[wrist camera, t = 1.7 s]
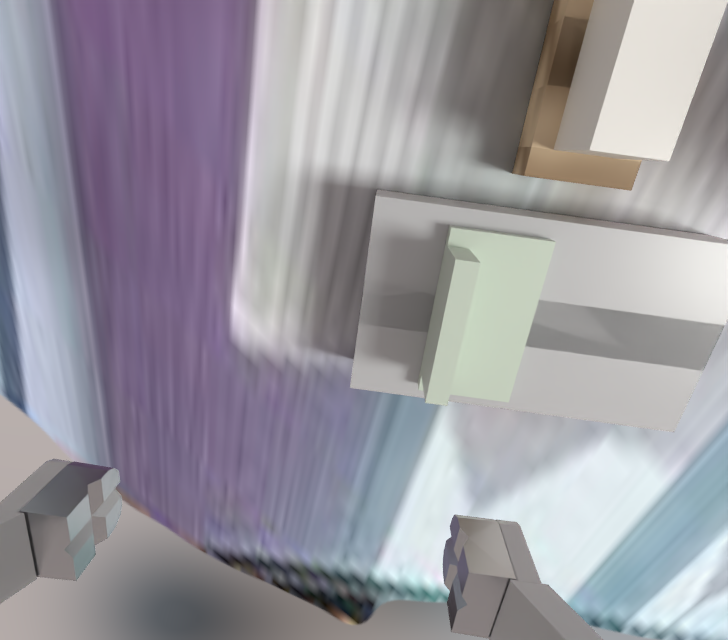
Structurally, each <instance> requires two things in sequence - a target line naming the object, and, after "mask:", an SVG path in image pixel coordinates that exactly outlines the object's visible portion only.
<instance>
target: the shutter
mask: <svg viewBox="0 0 728 640" xmlns="http://www.w3.org/2000/svg"><path fill="white" fill-rule="evenodd" d="M555 244H556V242H555V241H553V240H551V239H546V238H539V237H532V236H525V235H517V234H510V233H503V232H495V231H488V230H481V229H474V228H466V227H459V226H452V225H449V229H448V234H447V239H446V244H445V249H444V254H443V259H442V264H441V269H440V274H439V279H438V284H437V289H436V294H435V299H434V304H433V309H432V314H431V319H430V324H429V329H428V334H427V339H426V344H425V349H424V354H423V359H422V364H421V369H420V374H419V379H418V390H421V391H424V397H425V403H430V404H438V405H445V406H447V405H448V401H449V397H450V394H451V395H458V396H465V397H472V398H480V399H487V400H494V401H502V402H509V400H510V396H511V393H512V389H513V386H514V383H515V379H516V376H517V373H518V369H519V366H520V362H521V359H522V356H523V352H524V349H525V345H526V342H527V339H528V335H529V332H530V328H531V325H532V322H533V318H534V315H535V311H536V308H537V305H538V301H539V298H540V294H541V291H542V288H543V284H544V281H545V277H546V274H547V271H548V267H549V264H550V260H551V257H552V254H553V250H554V247H555Z"/></svg>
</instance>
